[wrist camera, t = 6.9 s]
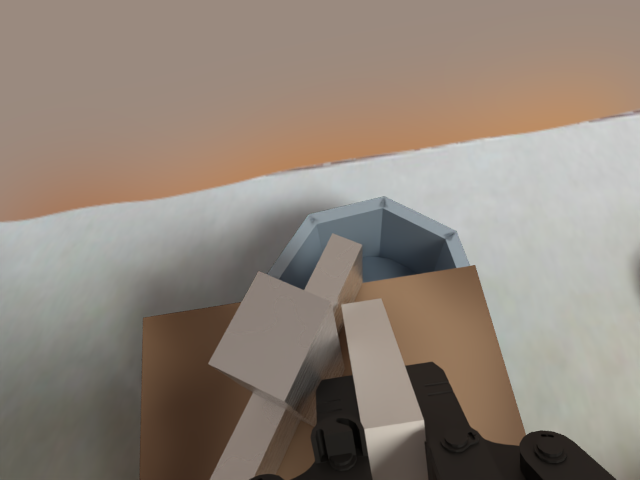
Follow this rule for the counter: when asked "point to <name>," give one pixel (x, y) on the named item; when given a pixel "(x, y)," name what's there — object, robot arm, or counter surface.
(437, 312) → the platform
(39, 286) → the counter surface
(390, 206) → the cup
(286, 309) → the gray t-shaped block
